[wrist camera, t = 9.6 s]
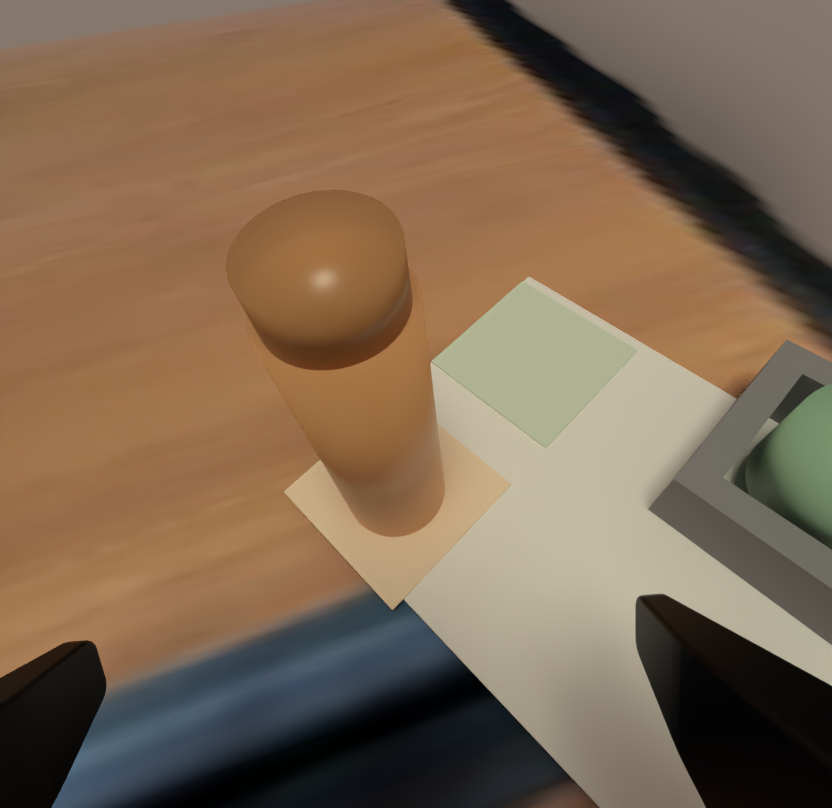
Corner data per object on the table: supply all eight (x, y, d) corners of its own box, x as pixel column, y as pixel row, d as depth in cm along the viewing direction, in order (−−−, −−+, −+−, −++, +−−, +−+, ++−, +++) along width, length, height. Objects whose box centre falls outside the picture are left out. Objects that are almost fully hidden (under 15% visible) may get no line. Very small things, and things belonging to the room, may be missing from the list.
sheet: (950, 503, 17) (1033, 467, 15) (703, 948, 12) (763, 1010, 10) (541, 269, 24) (549, 217, 22) (286, 495, 20) (259, 463, 17)
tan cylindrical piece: (464, 486, 19) (458, 237, 9) (394, 558, 18) (297, 365, 8) (397, 428, 20) (327, 160, 10) (328, 491, 19) (177, 258, 9)
